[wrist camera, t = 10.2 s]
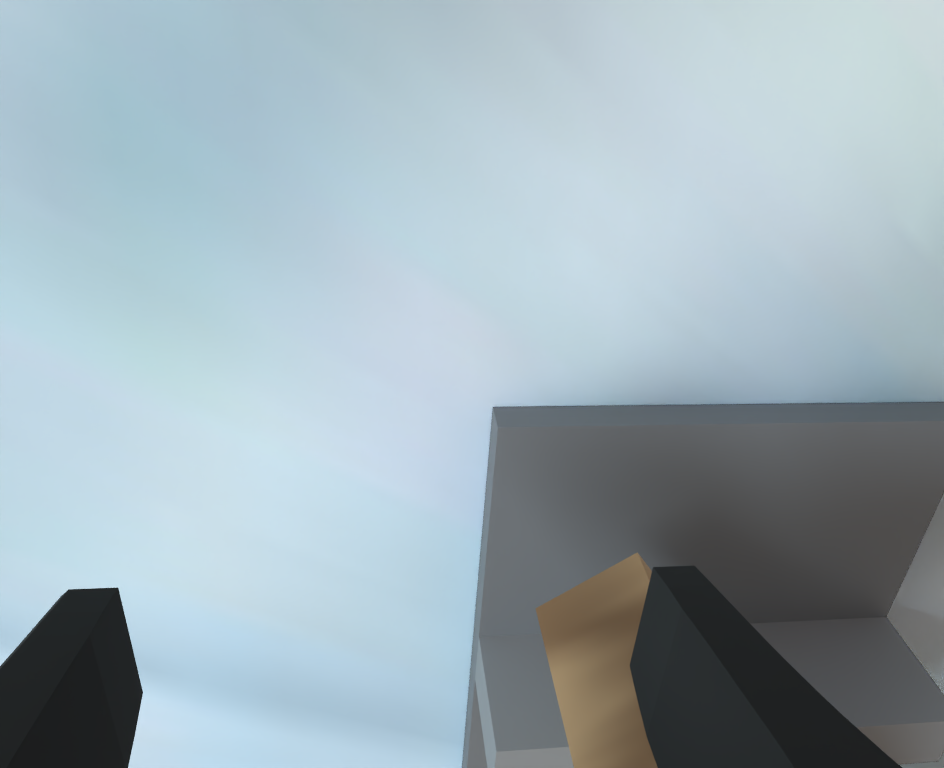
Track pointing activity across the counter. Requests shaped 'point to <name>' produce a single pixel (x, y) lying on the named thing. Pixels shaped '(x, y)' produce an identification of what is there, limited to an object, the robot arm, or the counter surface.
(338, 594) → the counter surface
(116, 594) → the robot arm
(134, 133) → the counter surface
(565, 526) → the stand
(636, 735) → the wooden block
